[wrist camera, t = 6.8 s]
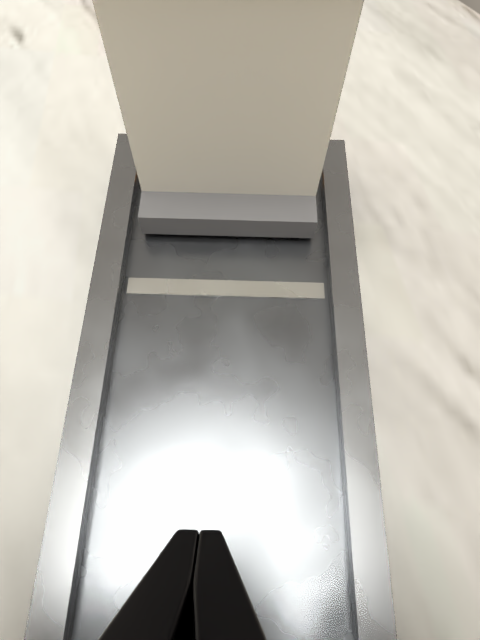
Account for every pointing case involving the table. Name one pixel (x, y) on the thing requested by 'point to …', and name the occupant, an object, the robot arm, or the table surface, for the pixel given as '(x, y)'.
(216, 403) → the tray
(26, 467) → the table surface
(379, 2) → the table surface
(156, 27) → the fader paddle
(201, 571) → the robot arm
